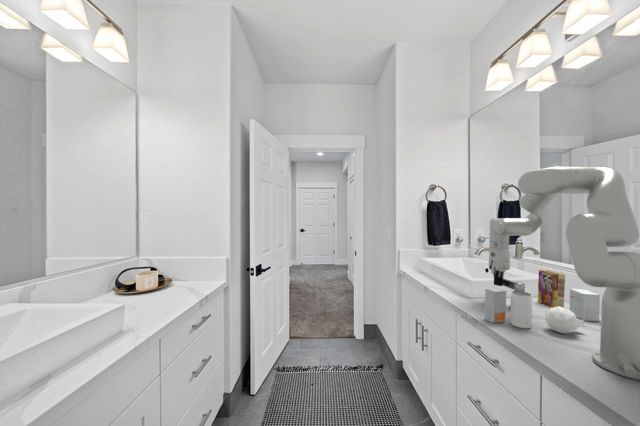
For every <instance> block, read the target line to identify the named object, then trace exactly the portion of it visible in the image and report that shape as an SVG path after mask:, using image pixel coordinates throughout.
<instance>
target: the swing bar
mask: <svg viewBox="0 0 640 426" xmlns="http://www.w3.org/2000/svg"><path fill="white" fill-rule="evenodd" d="M525 285H526V284H525V282H522V281H512V280H510V279H506V278H504V277H503V286H504V287H506V288H508V289H510V290H513V291H522V292H525V290H526V289H525V288H526V287H525ZM503 286H502V287H503Z"/></svg>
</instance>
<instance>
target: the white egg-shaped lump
mask: <svg viewBox="0 0 640 426" xmlns="http://www.w3.org/2000/svg"><path fill="white" fill-rule="evenodd" d="M544 319H545V321H546V322H545V323H546V325H547V326H548V327H549V328H550V329H551V330H552V331H554V332H557V333H560V334H562V335H564V334H571V333H573V332H575V331H576V330H577V329H578V327H581V328H582V327H583V328H584V327H585V322H584V320H581V319H579V318H578V317H576V316H575V314H574V313H573V312H571V311H570V309H568V308H565V307H564V308H562V307H560V306H558V307H549V308H548V310H546V312H545V315H544Z"/></svg>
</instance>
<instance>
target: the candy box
mask: <svg viewBox="0 0 640 426" xmlns="http://www.w3.org/2000/svg"><path fill="white" fill-rule="evenodd" d="M537 287H538V289H537V303H539V304H541V303H542V305H545V306H548V307H550V308H553V307H558V306H560V307H562V308H565V293H566V292H565V288H566V273H563V272H557V271H553V270H547V269H538V284H537Z"/></svg>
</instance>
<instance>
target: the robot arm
mask: <svg viewBox="0 0 640 426" xmlns="http://www.w3.org/2000/svg"><path fill="white" fill-rule="evenodd" d="M517 189H518V190H519V192H520V193H522V194H523V195H522V196H521V197H520V199H519V205H520V207H521V208H522V209H523V211H526V212H528V215H526V216H525V217H524V218H523V217H522V218H521V217H516V218H515V217H514V218H513V217H510V218H509V217H505V218H504V217H503V218H501V217H500V218H498V217H495V218H491V219H490V220H489V242H488V243H489V253H488V254H489V255H488V269H489V270H490V273H491V274H493V285H494V286H499V287H503V278H504V276H505V272H507V271H508V270H510V269H511V255H510V237H511V236H512V237H513V236H516V237H517V236H518V237H527V236H530V235H532V234H533V233H535V232H536V231H537V230H538V229H539V228H541V226H543V225H542V224H543V223H544V220H545V211H544V210H545V209H546V208H547V207H548V205H550V204H551V203H552V201H554V199H555V198H557V196H558V195H560V194H563V195H564V194H566V195H567V194H569V195H572V194H573V195H575V194H585V195H586V194H588V195H587V197H586V198H587V199H586V208H587V211H588V212H586V213H585V212H583V213H579V214H576V215H574V216H573V217H571V218H570V219H569V221H568V222H567V224H566V228H565V229H566V230H565V234H566V235H565V236H566V240H567V244H568V249H569V252H570V256H571V260H572V263H573V268H574V270H575V272H576V275H577V276H578V278H579V279H580V280H581V281H582V282H583V283H584V284H586V285H587V286H591V287H594V288H605V290H604V292H603V294H602V298H601V310H600V311H601V312H600V313H601V315H600V343H599V346H600V348H599V351H597V352H594V353H592V354H591V355H592V356H591V359H592V361H593V362H594V363H595V364H597V365H598V366H599V367H602V368H603V369H605V370H607V371H609V372H612V373H613V374H615V375H616V374H617V375H620V376H622V377H626V378H630V379H632V380H637V381H640V252H635V251H609V250H608V248H624V247H630V246H633V245H634V244H636V243H637V241H638V240H639V239H640V231H639V227H638V225H637V224H638V223H637V222H636V218H635V216H634V213H633V210H632V206H631V203H630V201H629V199H628V196H627V191H626V185H625V180H624V177H623V176H622V174H621V172H619V171H618V170H616V169H614V168H611V167H600V166H589V167H588V166H553V167H545V168H539V169H531V170H528V171H526V172H524V173H523V174H522V175H521V176H520V177H519V179H518V181H517Z"/></svg>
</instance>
